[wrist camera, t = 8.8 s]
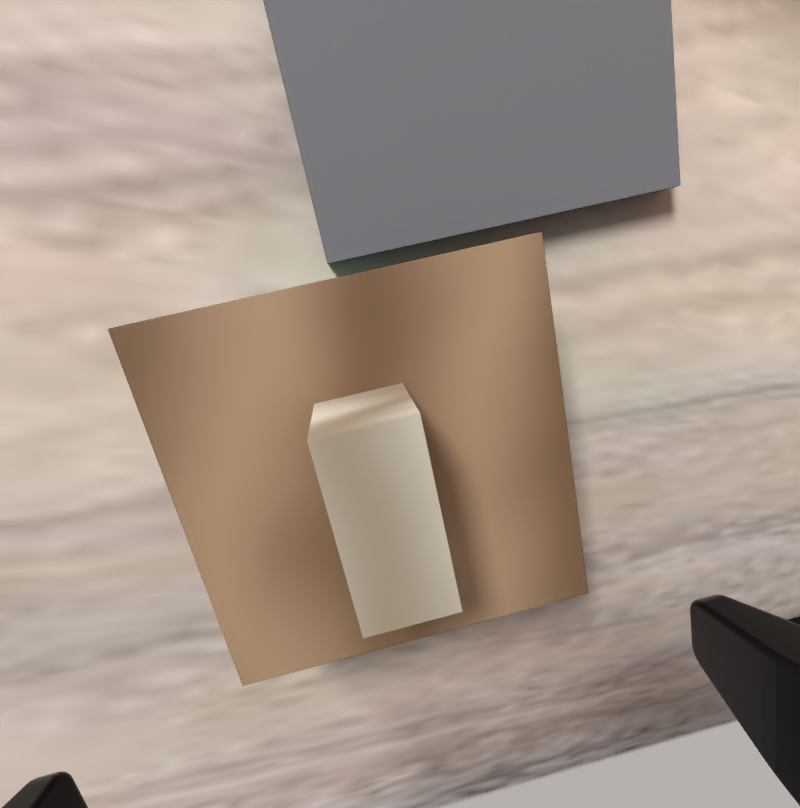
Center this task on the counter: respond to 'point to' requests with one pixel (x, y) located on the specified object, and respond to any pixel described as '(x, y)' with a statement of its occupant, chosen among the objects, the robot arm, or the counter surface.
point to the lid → (367, 453)
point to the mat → (473, 111)
